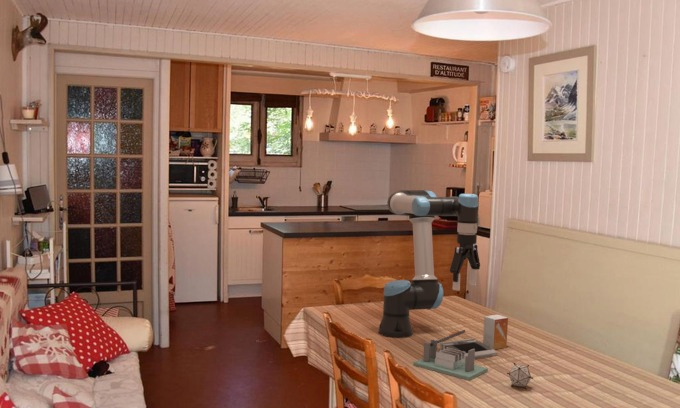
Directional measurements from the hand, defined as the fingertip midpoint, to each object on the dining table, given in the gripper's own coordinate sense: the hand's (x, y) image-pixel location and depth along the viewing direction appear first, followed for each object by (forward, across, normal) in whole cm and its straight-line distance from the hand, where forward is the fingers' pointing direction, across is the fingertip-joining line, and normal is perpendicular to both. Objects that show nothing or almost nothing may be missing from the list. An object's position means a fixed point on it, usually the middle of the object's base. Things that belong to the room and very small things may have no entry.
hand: (464, 287), depth 261 cm
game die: (+29, -14, -31) cm, 44 cm away
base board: (+29, -14, -3) cm, 32 cm away
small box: (+29, +24, -2) cm, 38 cm away
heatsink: (+29, -14, -3) cm, 32 cm away
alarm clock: (+29, +10, +2) cm, 31 cm away
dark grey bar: (+18, -13, -1) cm, 23 cm away
